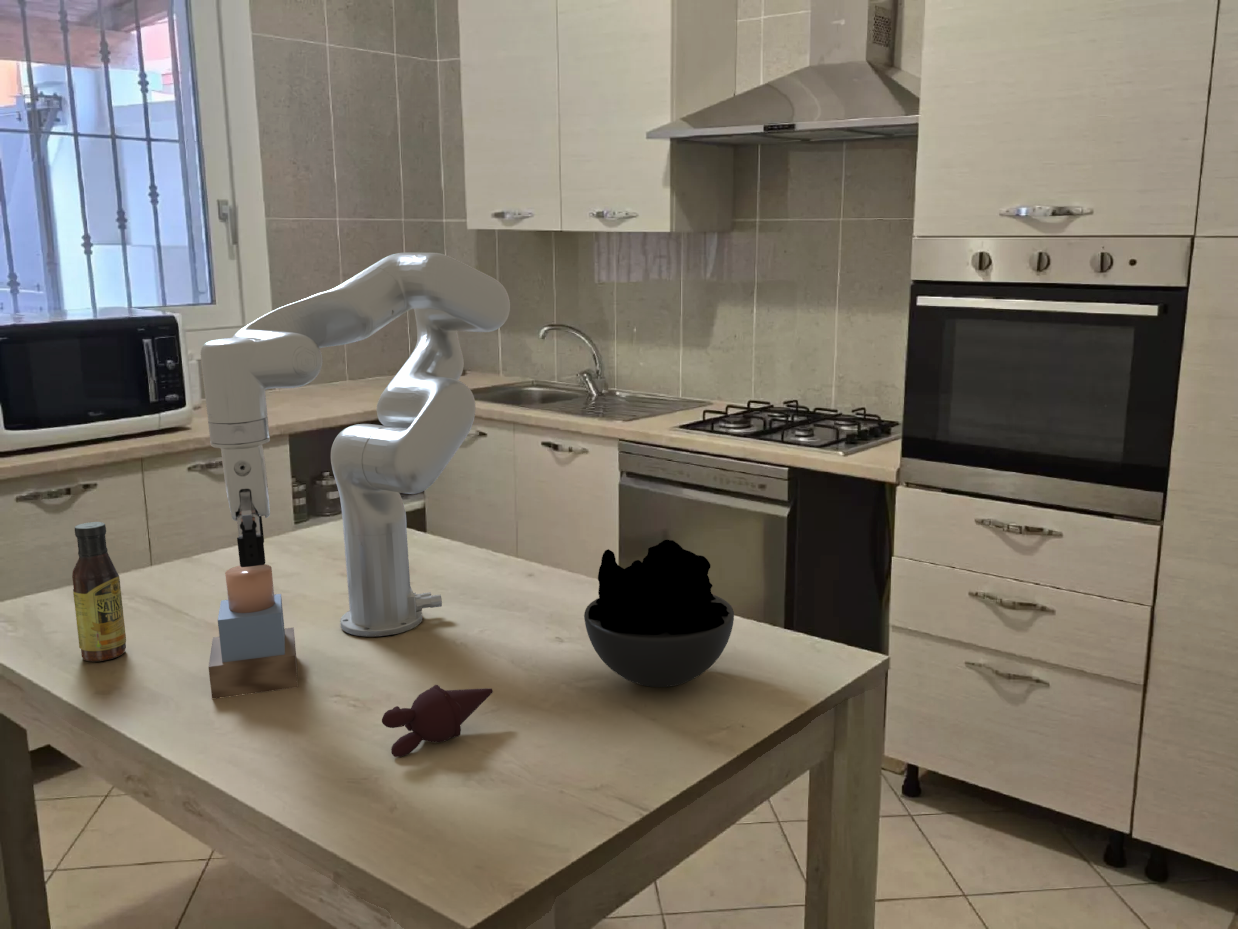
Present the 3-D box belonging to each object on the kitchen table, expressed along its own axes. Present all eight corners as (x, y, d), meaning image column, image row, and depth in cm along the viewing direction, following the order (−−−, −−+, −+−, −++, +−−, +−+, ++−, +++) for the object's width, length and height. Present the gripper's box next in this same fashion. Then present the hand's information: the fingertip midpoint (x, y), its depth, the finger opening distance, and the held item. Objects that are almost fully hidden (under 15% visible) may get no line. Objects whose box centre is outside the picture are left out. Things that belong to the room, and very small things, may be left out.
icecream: (469, 661, 138) (365, 707, 129) (500, 665, 133) (393, 712, 123) (483, 713, 139) (380, 761, 130) (515, 718, 133) (409, 769, 124)
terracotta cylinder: (274, 595, 152) (271, 561, 151) (275, 609, 146) (271, 574, 145) (229, 600, 150) (226, 566, 149) (228, 615, 145) (224, 579, 143)
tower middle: (284, 633, 154) (281, 593, 153) (284, 654, 146) (280, 612, 145) (225, 640, 152) (221, 600, 150) (222, 662, 144) (217, 620, 143)
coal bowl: (748, 661, 152) (749, 533, 148) (711, 722, 134) (711, 578, 130) (615, 645, 159) (613, 522, 155) (563, 701, 141) (558, 564, 137)
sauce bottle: (109, 665, 156) (91, 532, 151) (71, 662, 157) (52, 531, 152) (138, 647, 162) (121, 520, 157) (101, 645, 163) (84, 518, 159)
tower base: (296, 659, 157) (293, 627, 156) (298, 689, 147) (295, 655, 146) (216, 670, 154) (212, 637, 153) (212, 701, 144) (208, 666, 143)
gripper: (270, 442, 137) (283, 570, 141) (267, 418, 153) (279, 534, 157) (207, 447, 135) (222, 577, 138) (211, 423, 150) (224, 540, 154)
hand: (252, 554), depth 148 cm, fingers open, 9 cm apart
